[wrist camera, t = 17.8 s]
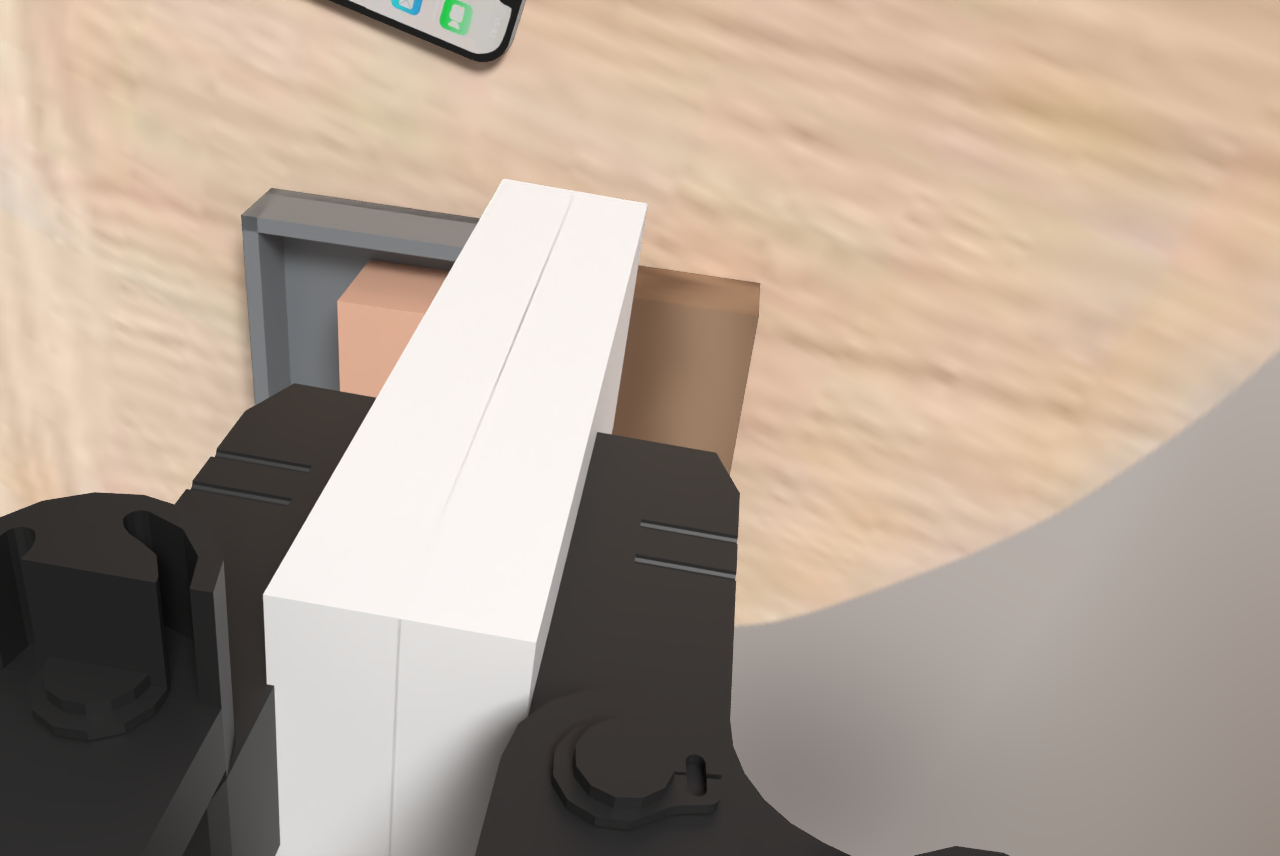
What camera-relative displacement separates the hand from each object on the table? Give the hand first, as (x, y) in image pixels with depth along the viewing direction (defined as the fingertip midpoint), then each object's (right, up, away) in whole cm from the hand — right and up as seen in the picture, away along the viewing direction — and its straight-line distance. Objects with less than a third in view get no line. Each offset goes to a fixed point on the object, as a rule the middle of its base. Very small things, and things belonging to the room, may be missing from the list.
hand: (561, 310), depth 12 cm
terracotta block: (-6, +2, +33) cm, 34 cm away
